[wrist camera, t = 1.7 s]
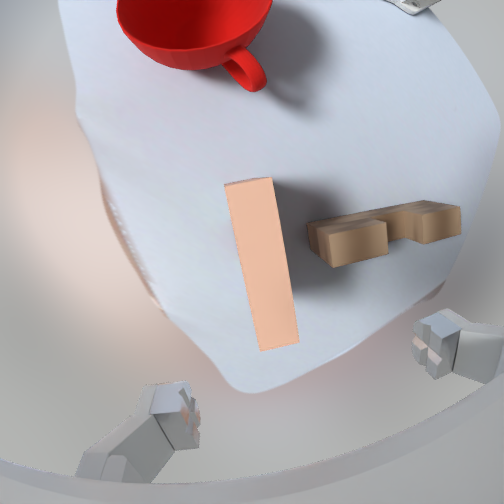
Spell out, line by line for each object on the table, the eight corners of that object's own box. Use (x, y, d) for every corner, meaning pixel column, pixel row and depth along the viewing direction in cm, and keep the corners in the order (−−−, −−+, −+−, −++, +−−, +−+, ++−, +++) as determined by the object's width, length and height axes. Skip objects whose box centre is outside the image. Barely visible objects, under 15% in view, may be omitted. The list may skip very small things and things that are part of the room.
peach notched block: (252, 178, 30) (271, 177, 18) (273, 287, 33) (299, 342, 21) (223, 184, 30) (224, 186, 18) (247, 293, 33) (260, 351, 21)
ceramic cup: (199, 141, 28) (188, 123, 19) (123, 34, 24) (94, -8, 15) (302, 81, 28) (334, 45, 18) (220, -17, 24) (221, -69, 14)
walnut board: (423, 200, 32) (460, 206, 25) (425, 223, 33) (461, 233, 26) (306, 222, 32) (328, 234, 25) (310, 249, 32) (332, 267, 25)
